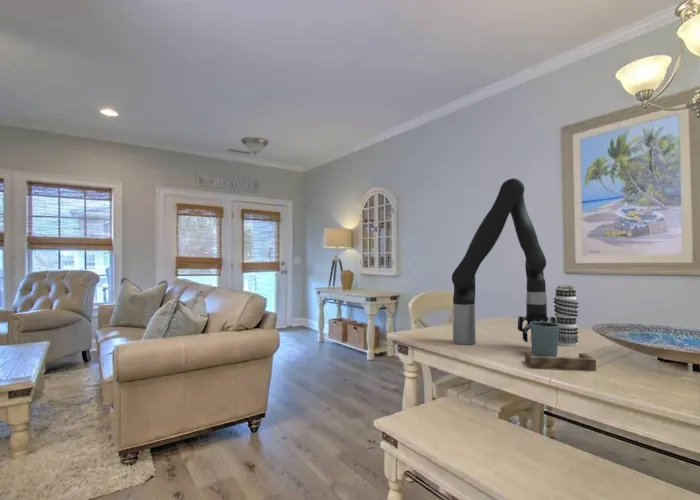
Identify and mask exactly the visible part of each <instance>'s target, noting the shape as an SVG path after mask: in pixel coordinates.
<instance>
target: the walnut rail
mask: <svg viewBox="0 0 700 500" xmlns="http://www.w3.org/2000/svg"><path fill="white" fill-rule="evenodd" d="M524 361H525V362H526V363H527V365H528V366H529V367H530V368H531V369H534V368H535V369H548V368H557V369H556V370H573V369H575V371H578V370H579V371H597V361H596V358H594V357H592V356H590V355H588V354H587V353H585V352H584V353H582V352H579V353H578V357H574V356H573V357H572V356H571V357H570V356H567V357H566V356H557V357H543V356H535V355H534V354H533V353H532V351H524Z"/></svg>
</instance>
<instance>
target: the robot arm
mask: <svg viewBox="0 0 700 500" xmlns="http://www.w3.org/2000/svg"><path fill="white" fill-rule="evenodd" d="M524 193H525V186H524V183H523V182H522V181H521V180H520V179H519V178H509V179H507V180H505V181H504V182H503V183H502V184H501V186H500V188H499V191H498V194H497V196H496V199H495V201H494V202H493V205H492V206H491V208H490V209H489V211H488V213H486V215H485V216H484V218H483V219H482V221H481V223H480V225H479V226H478V228H477V230H476V232H475V234H474V235H473V237H472V239H471V242H469V243H470V244H469V246H468V248H467V250H466V253H465V255H464V256H463V258H462V259H461V261H460V262H459V263H458V265H457V267H456V268H455V269H454V271H453V272H452V275H451V281H452V284H453V296H452V297H453V298H452V307H453V308H452V309H453V310H452V311H453V312H452V315H453V316H452V318H453V319H452V342H453V344H455V345H457V344H458V345H463V346H464V345H465V346H466V345H468V346H470V345H471V346H472V345H475V344H476V274H477V272H478V270H479V267H480V265H481V263H482V262H483V261H484V259H485V258H486V257H487V256H488V255H489V253H490V252H491V251H492V249H493V248H494V246H495V245H496V243H497V242H498V240H499V238H500V236H501V234H502V232H503V229H504V228H505V225H506V222H507V219H508V217H509V215H510V216H511V218H512V219H511V220H512V222H513V226H514V230H515V233H516V236H517V239H518V243H519V245H520V248H521V250H522V251H523V253H524V256H525V260H524V261H525V262H524V267H525V275H526V293H525V294H526V295H525V302H526V303H525V304H526V305H525V309H526V315H525V316H521V315H519V316H518V317H517V330H518V331H519V332H520V333H521V332H522V340H523V341H524V342H525V343H528V332H529V330H531V328H530V322H535V321H541V322H551V323H556V317H554V316H548V314H547V313H548V310H547V309H548V308H547V307H548V306H547V305H548V304H547V292H546V291H547V288H546V279H545V275H544V270H545V268H546V267H547V259H546V256H545V254H544V251H543V249H542V247H541V246H540V242H539V239H538V235H537V232H536V230H535V227H534V225H533V222H532V220H531V218H530V216H529V214H528V210H527V208H526V204H525V197H524V196H525V195H524ZM525 321H526V324H525V325H524V324H523V323H524V322H525Z"/></svg>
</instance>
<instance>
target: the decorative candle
mask: <svg viewBox="0 0 700 500" xmlns="http://www.w3.org/2000/svg"><path fill="white" fill-rule="evenodd" d="M577 290H578V289H576V288H575V287H574V285H567V284H564V285H563V284H560V285H557V287H556V288H555V297H553V300H554V301H553V303H554V306H553V307H554V312H555V313H554V316H555V319H556V324H559V325H560V328H559V336H558V337H559V338H558V345H559V346H560V345H561V346H566V345H567V347H571V346H572V347H575V345H576V346H578V345H579V343H578V342H579V336H578V333H579V332H578V330H579V328H578V324H577V318H578V317H579V314H578V313H579V311H578V310H577V309H578V308H579V305H578V304H579V303H578V302H577Z"/></svg>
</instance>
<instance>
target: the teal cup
mask: <svg viewBox="0 0 700 500" xmlns="http://www.w3.org/2000/svg"><path fill="white" fill-rule="evenodd" d="M559 328H560V325H559V324H556V323H551V322H549V321H547V322H541V321H535V322H530V339H531V340H530V342H531V352H532V353H533V354H534V355H535V356H543V357H556V356H557V357H558V350H559V349H558V348H559V347H558V346H559V344H558V338H559V337H558V336H559Z"/></svg>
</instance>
